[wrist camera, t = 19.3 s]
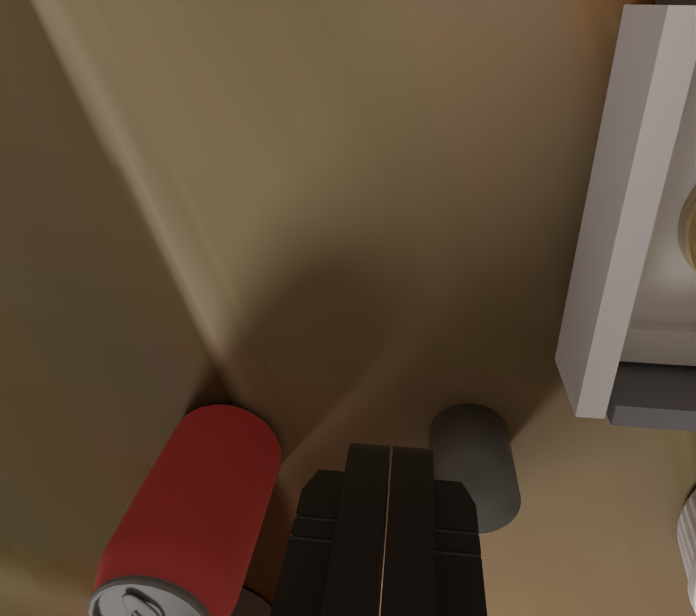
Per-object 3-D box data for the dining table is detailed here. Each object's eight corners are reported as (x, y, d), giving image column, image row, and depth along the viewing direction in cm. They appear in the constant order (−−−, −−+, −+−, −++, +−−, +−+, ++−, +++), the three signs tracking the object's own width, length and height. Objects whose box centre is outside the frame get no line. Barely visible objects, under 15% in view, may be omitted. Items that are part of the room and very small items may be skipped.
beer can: (251, 384, 34) (171, 559, 23) (302, 468, 36) (252, 661, 26) (157, 416, 36) (44, 591, 25) (212, 494, 38) (130, 683, 28)
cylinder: (426, 462, 35) (426, 529, 31) (431, 401, 33) (432, 463, 29) (503, 468, 35) (514, 537, 30) (513, 407, 32) (527, 471, 28)
